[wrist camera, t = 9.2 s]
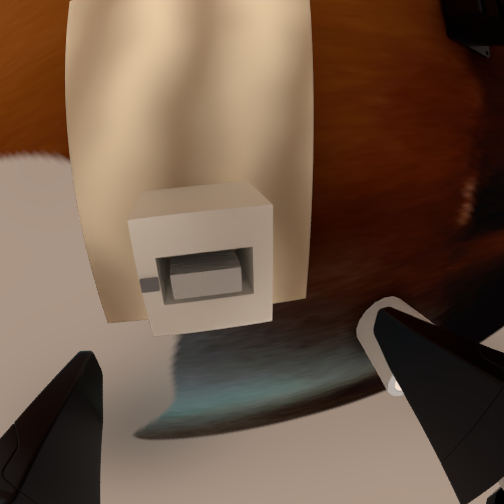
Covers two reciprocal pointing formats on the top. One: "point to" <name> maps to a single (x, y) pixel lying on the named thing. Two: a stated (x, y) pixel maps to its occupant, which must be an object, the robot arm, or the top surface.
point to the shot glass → (371, 344)
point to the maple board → (188, 122)
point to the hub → (198, 241)
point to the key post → (205, 274)
